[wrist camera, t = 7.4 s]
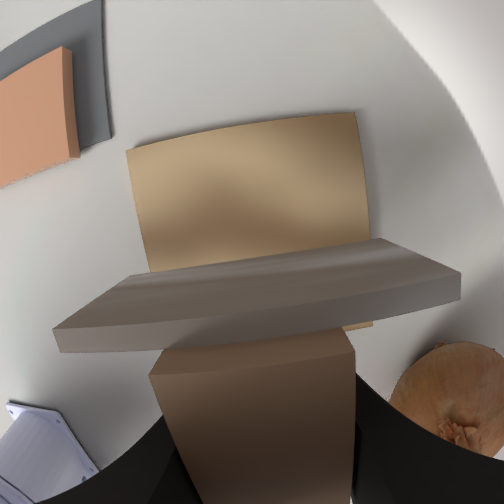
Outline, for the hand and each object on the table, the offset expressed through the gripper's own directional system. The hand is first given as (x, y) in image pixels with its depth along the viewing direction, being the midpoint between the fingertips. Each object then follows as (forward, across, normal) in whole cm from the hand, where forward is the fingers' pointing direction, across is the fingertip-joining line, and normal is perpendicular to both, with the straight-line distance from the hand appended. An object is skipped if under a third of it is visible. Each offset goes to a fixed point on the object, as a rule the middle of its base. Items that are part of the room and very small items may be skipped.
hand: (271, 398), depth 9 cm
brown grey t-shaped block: (+2, 0, -1) cm, 2 cm away
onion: (+9, -11, +9) cm, 17 cm away
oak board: (+9, 0, -3) cm, 9 cm away
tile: (+8, +13, -9) cm, 18 cm away
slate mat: (+9, +13, -15) cm, 22 cm away
